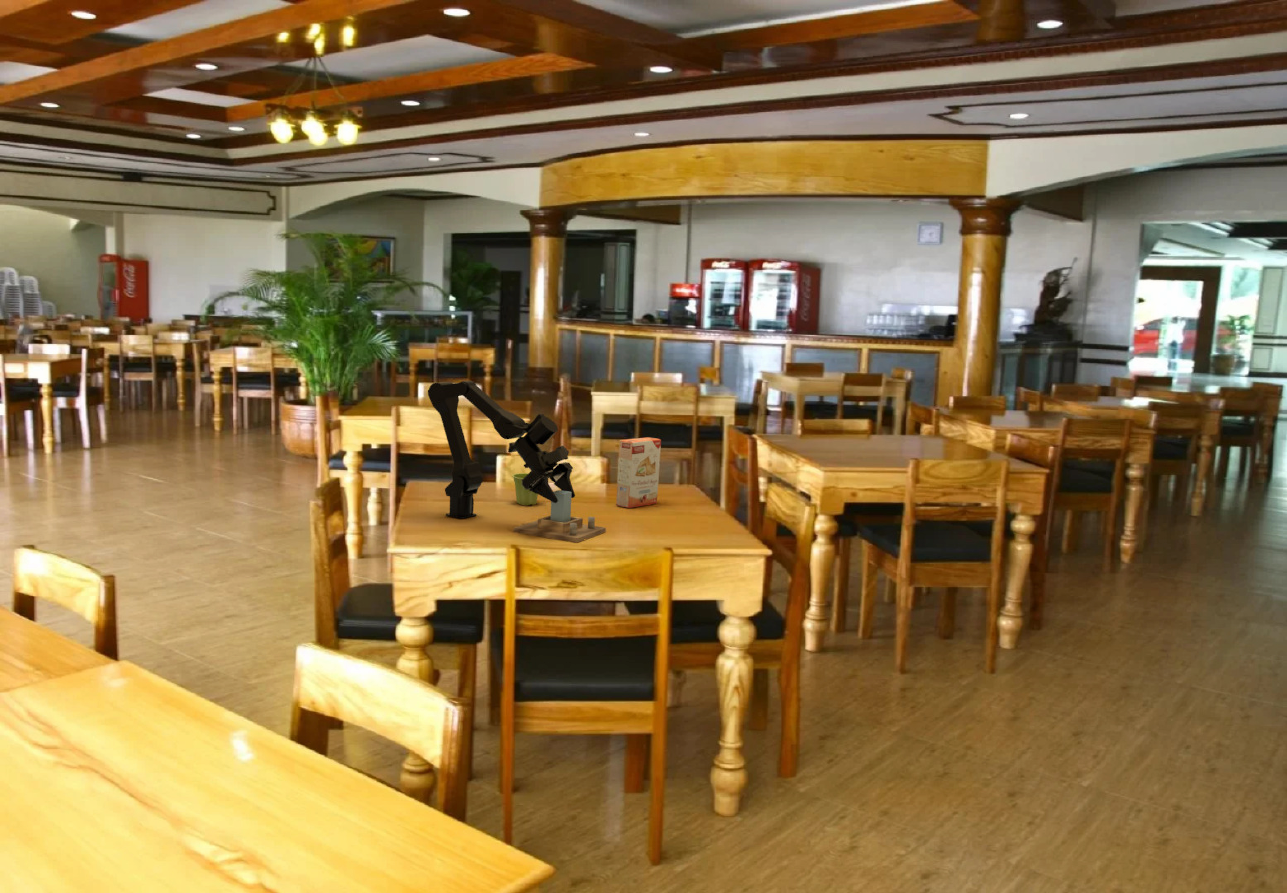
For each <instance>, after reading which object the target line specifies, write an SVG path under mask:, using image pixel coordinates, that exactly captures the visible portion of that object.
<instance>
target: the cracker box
mask: <svg viewBox="0 0 1287 893" xmlns="http://www.w3.org/2000/svg"><path fill="white" fill-rule="evenodd" d="M661 448H662V440H661V439H660V438H655V437H648V436H647V437H640V438H627V439H620V440H619V447H618V450H619V451H618V467H617V480H616V481H617V482H616V484H617V485H616V497H615V498H616V501H615V502H616V503H615V506H618V507H621V508H626V509H633V508H637V507H645V506H648V505H654V504H657V503H658V492H659V479H660V478H659V476H660V461H661V450H662V449H661Z"/></svg>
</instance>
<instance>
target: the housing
mask: <svg viewBox="0 0 1287 893" xmlns="http://www.w3.org/2000/svg"><path fill="white" fill-rule="evenodd" d="M583 520H584V519H583V517H576V516H571V519H570V521H569V522H566V523H563V522H557V521H551V514H550V515H548V516H547V515H546V516H544V517H541V518H538V519H536V520H534V521H530V522H528V523H525V524H521V525H518V526H515V527H513V528H512V529H513V530H512V532H513V533H515V534H516V533H517V534H522V535H527V534H529V536H535V537H541V538H547V539H553V540H557V541H565V542H570V543H576V542H578V543H579V542H582V540H583V541H585V540H584V539H586V540H588V539H590V538H593V537H596V536H599V535H601V534H603V533H606V532H607V531H606V530H607V528H606V527H604V526H597V525H595V522H596V517H595V516H588V519H587V524H585V523H584V522H583Z"/></svg>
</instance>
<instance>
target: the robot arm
mask: <svg viewBox="0 0 1287 893" xmlns="http://www.w3.org/2000/svg"><path fill="white" fill-rule="evenodd" d="M461 396H462V397H464V398H465V399H467V401H468V402H470V403H471V404H472V405H473V406H474V407H476V408H475V409H477V410H478V411H480V412H481V414H483V415H484V416H486V417H487V419H489V420H490V422H491V423H492V426H493V428H494V430H495V431H496V432H497V434H498V435H499V436H500V437H501V438H502V439H503V440H512V439H516V440H515V441H513V442H509V443H508V445H509V446H508V453H509V454H511V453H515V452H516V453H518V455H519V456H520V458H521V459H522V461H523V462H524V463H523V467H524V468H525V469H528V470H530V471H529V474H528V475H526V476H525V477H524V478H523V479H522V486H523V487H524V488H525V490H528V489H529V491H532V492H534V493H536V494H538V496H540V497H543V498H545V499H546V500H549V501H550V502H551V501H552V502H554V503H557V502H558V499H557V497H556V495H555V494H554V491H553V489H552V487H551V485H550V484H549V479H550V481H552V482H553V485H554V486H555V487H556V488H558V489H559V490H562V491H569V492H572V494H571V499H574V498H576V493H575V491H574V488H573V485H572V482H571V474H572V472H573V469H574V467H573V466H572V464H571V463H570V462H568V461H567V462H566V461H564V460H568V459H569V457H568V456H569V453H570V451H569V450H568V449H567V447H565V446H564V445H560V446H557V447H556V448H555V450H553V451H550V452H549V451H548V450H542V448H541V447H540V446H539V445H543V446H544V445H545V444H546V443H547V442H548V441H549V440H550V439H551V438H552V437H553V436H554V435H555V434H556V433H557V432H558V425H557V424H556V422H555V421H554V420H552V419H550V418H549V417H547V416H545V414H544V413H538V414H537V416H536V417H535V418H534V420H533V421H532V422H526V421H525V419H523V418H522V417H520V416H518V415H517V414H515V413H513V412H510V411H508V410H506V409H504V408H503V407H502V406H500V405H499V404H498V403H497V402H496V401H495V400H494V399H493V398H491V397H490V396H489V395H488V394H487V393H485V391H483V390H482V389H481V387H479V386H478V385H477V384H476V382H474V380H473V381H472V380H462V381H459V382H455V383H454V382H452V381H442V382H441V381H439V382H434V383H432V384H431V385H430V386H429V388H428V390H427V397H428V398H429V401H430V403H431V406H432V407H433V408H434V409H435V410H436V412H437V413H438V414H439V416H440V420H441V423H442V425H443V429H444V433H445V436H446V440H447V444H448V447H449V450H450V451H449V452H450V454H451V458H452V460H453V462H452V463H453V465H452V468H451V469H452V470H451V480H452V481H451V482H450V483H449V484H448V485H447V486H446V487H445V488H444V493H445V495H446V497H449V512H447V513H446V512H445V516H447V517H452V518H456V519H459V520H460V519H468V518H472V517H476V516H477V515H478V514H477V513H474V505H475V504H474V503H475V502H474V500H475V499H474V495H476V494H477V493H478V490H479V488H480V487H481V485H482V484H483V476H484V474H483V472H482V469H481V468H482V467H481V464H480V461H477V462H474V461H473V459H472V458H471V455H470V452H469V448H468V446H467V441H466V438H465V435H464V431H463V427H462V424H461V421H460V420H461V419H460V416H459V413H458V408H459V401H460V398H459V397H461ZM561 461H563V462H561ZM559 462H560V463H559Z"/></svg>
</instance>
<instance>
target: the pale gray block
mask: <svg viewBox="0 0 1287 893" xmlns="http://www.w3.org/2000/svg"><path fill="white" fill-rule="evenodd" d="M553 492H554V494H555V495H556V497H557V499H558V502H557V503H554V502H552V501H550V515H551V521H557V522H563V523H566V522H569V521H570V519H571V517H572V515H571V514H572V498H571V494H572V492H569V491H562V490H561V489H559V490H554V491H553Z"/></svg>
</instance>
